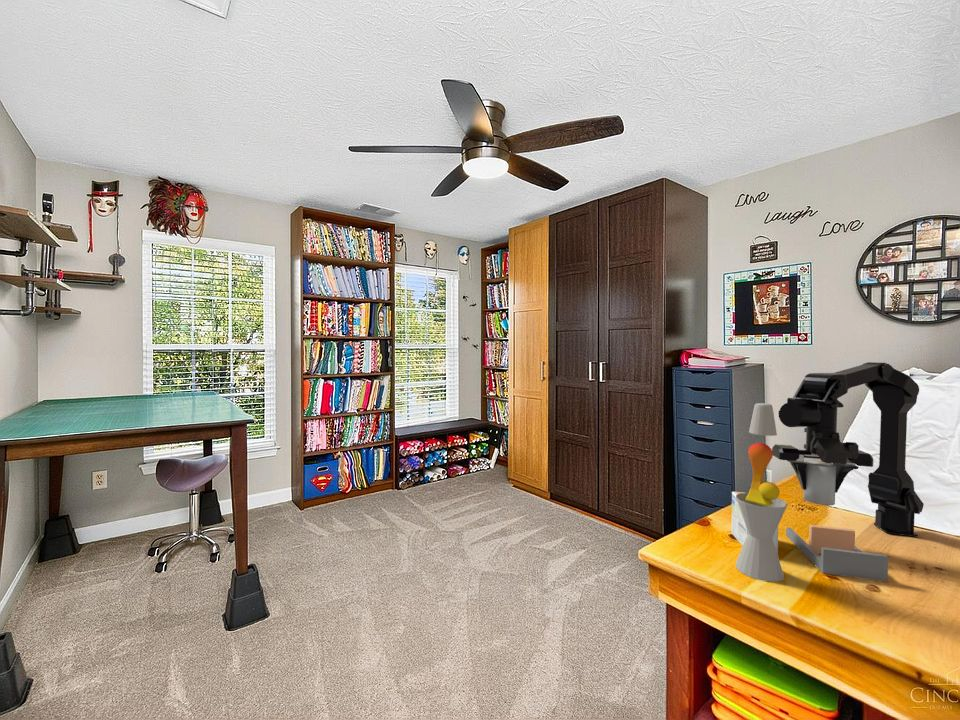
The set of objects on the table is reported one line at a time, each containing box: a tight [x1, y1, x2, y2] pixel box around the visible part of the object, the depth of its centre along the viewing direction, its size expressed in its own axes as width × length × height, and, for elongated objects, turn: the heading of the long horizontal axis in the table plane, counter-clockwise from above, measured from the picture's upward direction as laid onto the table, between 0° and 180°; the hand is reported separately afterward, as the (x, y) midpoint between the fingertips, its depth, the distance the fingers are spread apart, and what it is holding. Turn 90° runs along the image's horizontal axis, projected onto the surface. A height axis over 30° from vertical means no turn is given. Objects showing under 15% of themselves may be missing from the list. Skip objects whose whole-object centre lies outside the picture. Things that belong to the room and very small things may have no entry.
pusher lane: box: [785, 526, 889, 582], centre depth 100 cm, size 11×20×5 cm, turn 164°
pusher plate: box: [808, 524, 856, 555], centre depth 100 cm, size 8×1×6 cm, turn 74°
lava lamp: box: [734, 402, 788, 583], centre depth 92 cm, size 9×9×35 cm
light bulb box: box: [730, 491, 779, 555], centre depth 106 cm, size 11×7×11 cm, turn 168°
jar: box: [802, 460, 836, 506], centre depth 106 cm, size 6×6×9 cm
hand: (819, 490), depth 106 cm, fingers closed on jar, 6 cm apart
